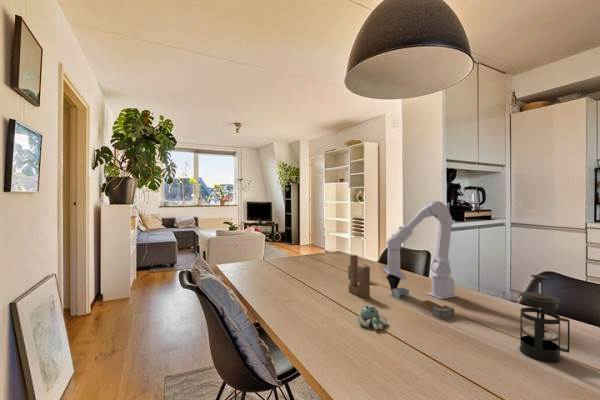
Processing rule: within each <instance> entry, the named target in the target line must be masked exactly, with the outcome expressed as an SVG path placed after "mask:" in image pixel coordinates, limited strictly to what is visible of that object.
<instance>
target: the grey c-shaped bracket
mask: <svg viewBox="0 0 600 400" xmlns="http://www.w3.org/2000/svg"><path fill="white" fill-rule="evenodd" d="M443 307H445V308H447V309H443V310H440V309H438V308H436V307H433V312H432V315H434V316H436V317H438V318H440V321H441V320H446V319H451V318H452V319H453V318H455V317H454V315H455V308H454V307H451V306H449V305H446V304H444V305H443Z"/></svg>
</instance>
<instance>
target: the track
mask: <svg viewBox="0 0 600 400" xmlns="http://www.w3.org/2000/svg"><path fill="white" fill-rule="evenodd" d="M388 297H391V298H393V299H395V300H396V301H398V302H401V303H403V304H405V305H407V306H409V307H411V308H413V309H416V310H417V311H420V312H422V313H424V314H425V315H428V316H430V317H432V318H434V319H436V320H438V321H441V319H440V318H438V317H436V316H434V315H433V313H430V312H428V311H426V310H423V309H421V308H420V307H418V306H415V305H414V304H413V305H412V304H410V303H409V302H406V301H404V300H402V299H400V298H399V299H398V298H396V297H394V296H392V294H388ZM408 298H412V299H414V300H417V301H418V302H419V303H423V301H424V300H422V299H419V298H418V297H415V296H413V295H410V294H409V297H408ZM455 317H457V315H456V314H454V317H453V318H455Z"/></svg>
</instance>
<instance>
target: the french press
mask: <svg viewBox="0 0 600 400" xmlns="http://www.w3.org/2000/svg"><path fill="white" fill-rule="evenodd" d="M530 277H531V278H533V279H537V283H538V292H537V291H535V292H534V291H523V292H520V296H521V297H522V298H523V301H524V303H525V304H526V305H528V306H530V307H522V308H520V324H519V325H520V330H519V331H520V336H519V337H520V338H519V339H520V344H519V345H520V346H519V347H518V348H519V352H521V353H522V354H523V355H524V356H526V357H528V358H530V359H532V360H534V361H538V362H542V363H547V364H558V363H560V362H561V361H562V357H561V352H564V353H570V338H571V337H570V331H571V330H570V319H569V318H566V317H565V318H564V317H561V316H560V315H559V314H557V313H555V312H553V311H550V310H556V309H559V303H561V299H560V298H558V297H556V296H554V295H552V294H547V293H542V291H541V288H542V287H541V286H542V285H541V284H542V283H543V280H549V279H550V277H548V276H546V275H542V274H531V275H530ZM527 313H535V314H536V316H534V315H533V316H532V315H530V314H527ZM545 316H549V317H552V318H553V319H549V318H548V319H547V318H545ZM523 318H524V319H526V320H529V321H531V322H534V325H525V326H523ZM561 322H565V323H567V348H563V347H561ZM545 325H554V326H555V325H558V334H557V333H556V332H554V331H552V330H550V329H547V328H545ZM523 334H525V335H523ZM556 341H558V343H556Z"/></svg>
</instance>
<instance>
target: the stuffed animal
mask: <svg viewBox="0 0 600 400" xmlns="http://www.w3.org/2000/svg"><path fill="white" fill-rule="evenodd" d="M357 319H358V320H357V321H358V323H359V325H361V326H363V328H369V327H371V325H372V326H373V329H374V330H376V331H377V330H383V328H384V327H385V326H386V324H387V322H388V321H387V320H388V319H387V318H386V316H384V315H382V314H380V313H379V310H378V308H377V307H376V306H374V305H372V304H370V305H364V306H362V308H361V310H360V314H359V316H358V318H357Z"/></svg>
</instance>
